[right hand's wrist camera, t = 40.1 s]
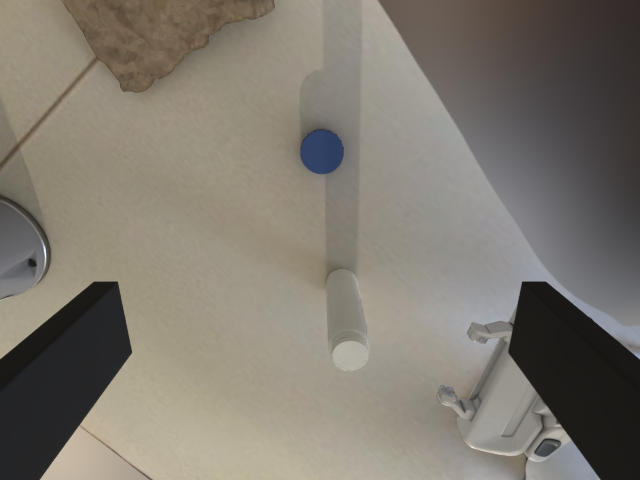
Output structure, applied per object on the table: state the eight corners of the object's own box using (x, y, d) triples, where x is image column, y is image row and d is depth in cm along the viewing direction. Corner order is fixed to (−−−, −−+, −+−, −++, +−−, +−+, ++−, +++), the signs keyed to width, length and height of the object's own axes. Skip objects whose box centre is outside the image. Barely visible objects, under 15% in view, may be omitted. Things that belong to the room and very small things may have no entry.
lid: (292, 142, 51) (292, 144, 49) (330, 120, 50) (330, 121, 48) (313, 179, 52) (313, 182, 51) (350, 158, 51) (351, 161, 50)
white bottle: (346, 262, 57) (357, 330, 40) (363, 286, 58) (379, 361, 42) (320, 278, 58) (320, 351, 41) (337, 301, 59) (343, 380, 43)
